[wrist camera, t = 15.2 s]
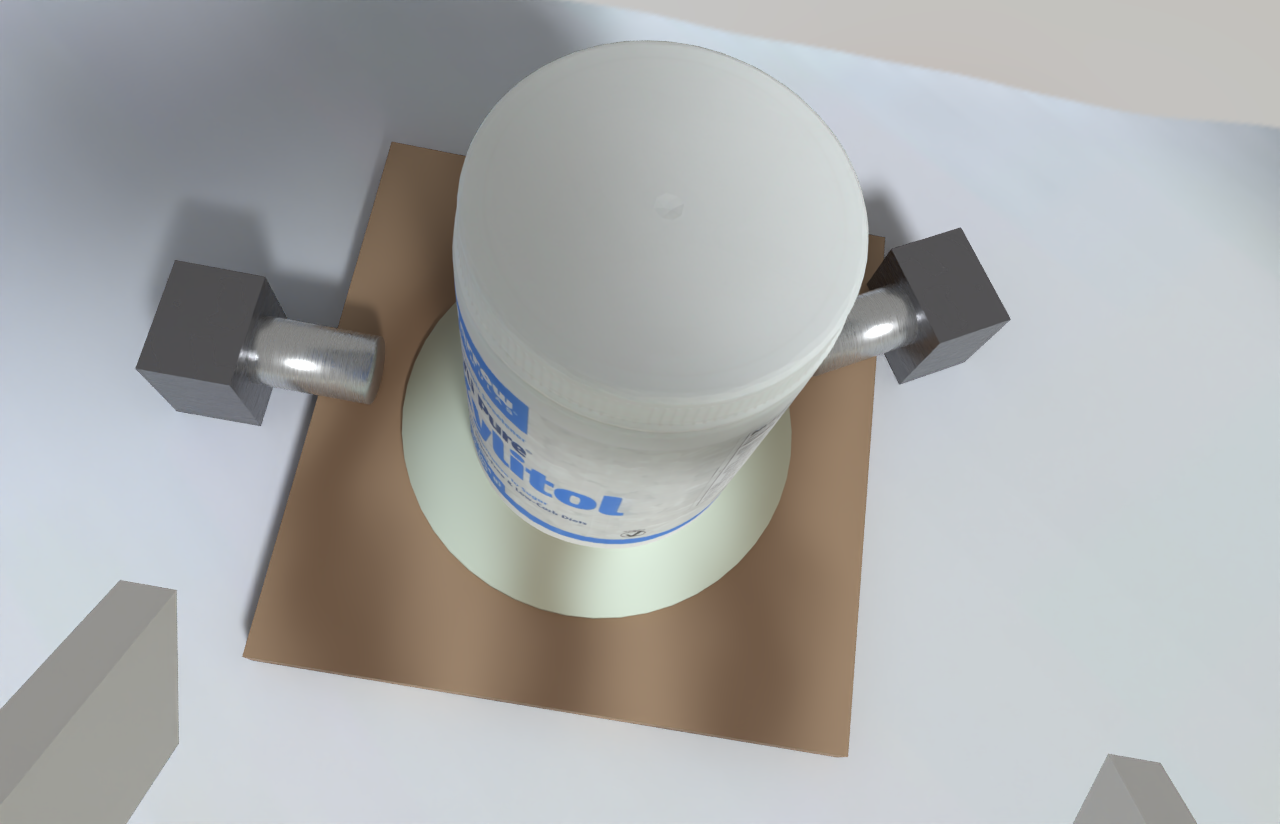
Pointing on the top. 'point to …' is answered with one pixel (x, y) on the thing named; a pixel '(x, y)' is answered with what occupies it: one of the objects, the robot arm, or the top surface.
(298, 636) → the board
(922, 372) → the shaft
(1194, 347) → the top surface
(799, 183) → the supplement tub
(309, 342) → the shaft
